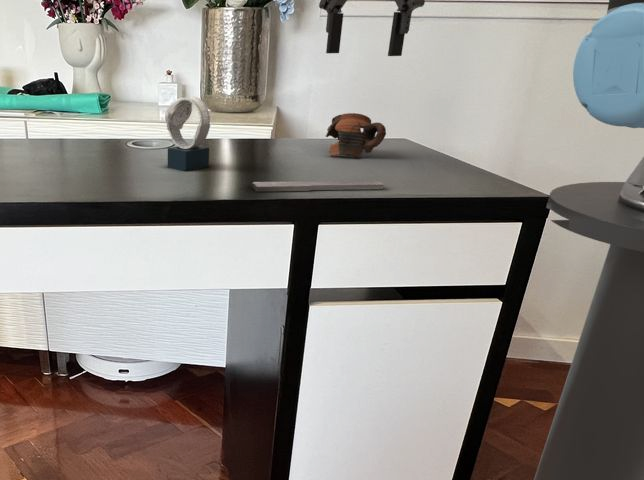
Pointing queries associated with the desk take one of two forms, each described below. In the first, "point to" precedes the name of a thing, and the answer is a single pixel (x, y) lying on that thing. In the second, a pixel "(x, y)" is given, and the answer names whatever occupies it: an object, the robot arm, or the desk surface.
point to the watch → (184, 154)
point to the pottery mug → (354, 134)
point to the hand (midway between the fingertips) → (362, 54)
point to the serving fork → (315, 186)
